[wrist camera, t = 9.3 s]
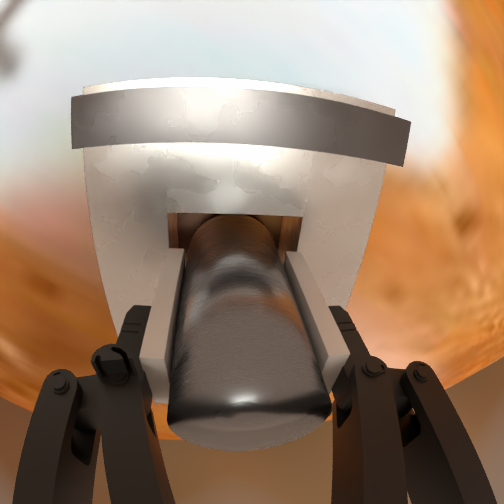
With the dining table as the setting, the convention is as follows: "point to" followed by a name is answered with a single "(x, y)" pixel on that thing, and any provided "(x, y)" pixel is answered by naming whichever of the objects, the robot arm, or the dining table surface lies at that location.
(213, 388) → the dark steel cylinder
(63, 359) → the dining table surface
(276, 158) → the block
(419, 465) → the robot arm
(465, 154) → the dining table surface
